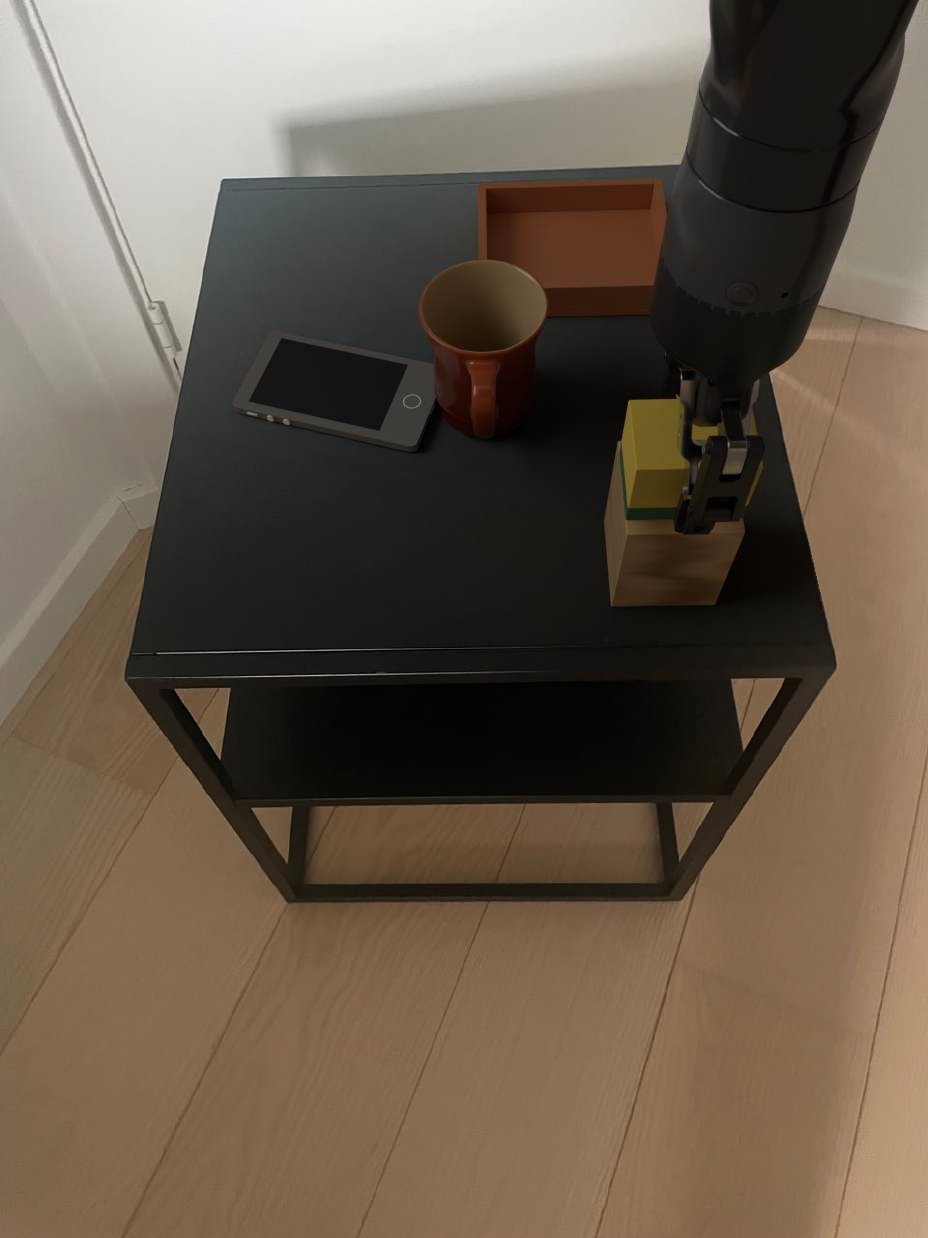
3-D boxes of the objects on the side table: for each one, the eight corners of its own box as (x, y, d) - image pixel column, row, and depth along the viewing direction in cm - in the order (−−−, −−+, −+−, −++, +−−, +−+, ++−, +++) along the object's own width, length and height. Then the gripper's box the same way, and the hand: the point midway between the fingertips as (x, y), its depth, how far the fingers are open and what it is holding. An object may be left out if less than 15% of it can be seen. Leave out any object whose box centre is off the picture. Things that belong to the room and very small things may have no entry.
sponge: (732, 450, 59) (751, 396, 55) (743, 518, 57) (764, 467, 52) (618, 453, 59) (628, 399, 55) (625, 520, 57) (635, 469, 53)
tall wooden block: (703, 518, 68) (730, 438, 60) (715, 605, 64) (745, 532, 56) (603, 520, 68) (617, 440, 60) (610, 607, 65) (626, 534, 57)
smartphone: (230, 412, 73) (228, 406, 73) (271, 335, 77) (269, 329, 76) (415, 454, 71) (414, 448, 70) (448, 372, 74) (448, 366, 74)
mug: (429, 363, 75) (420, 259, 66) (541, 362, 75) (546, 257, 66) (424, 488, 70) (413, 393, 61) (545, 487, 69) (552, 392, 60)
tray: (656, 208, 83) (661, 177, 80) (670, 314, 77) (677, 284, 74) (478, 213, 83) (477, 182, 80) (479, 318, 77) (478, 289, 75)
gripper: (865, 366, 39) (765, 570, 53) (806, 138, 46) (731, 374, 60) (679, 369, 39) (629, 571, 53) (648, 142, 46) (611, 376, 60)
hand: (683, 467), depth 57 cm, fingers open, 8 cm apart
